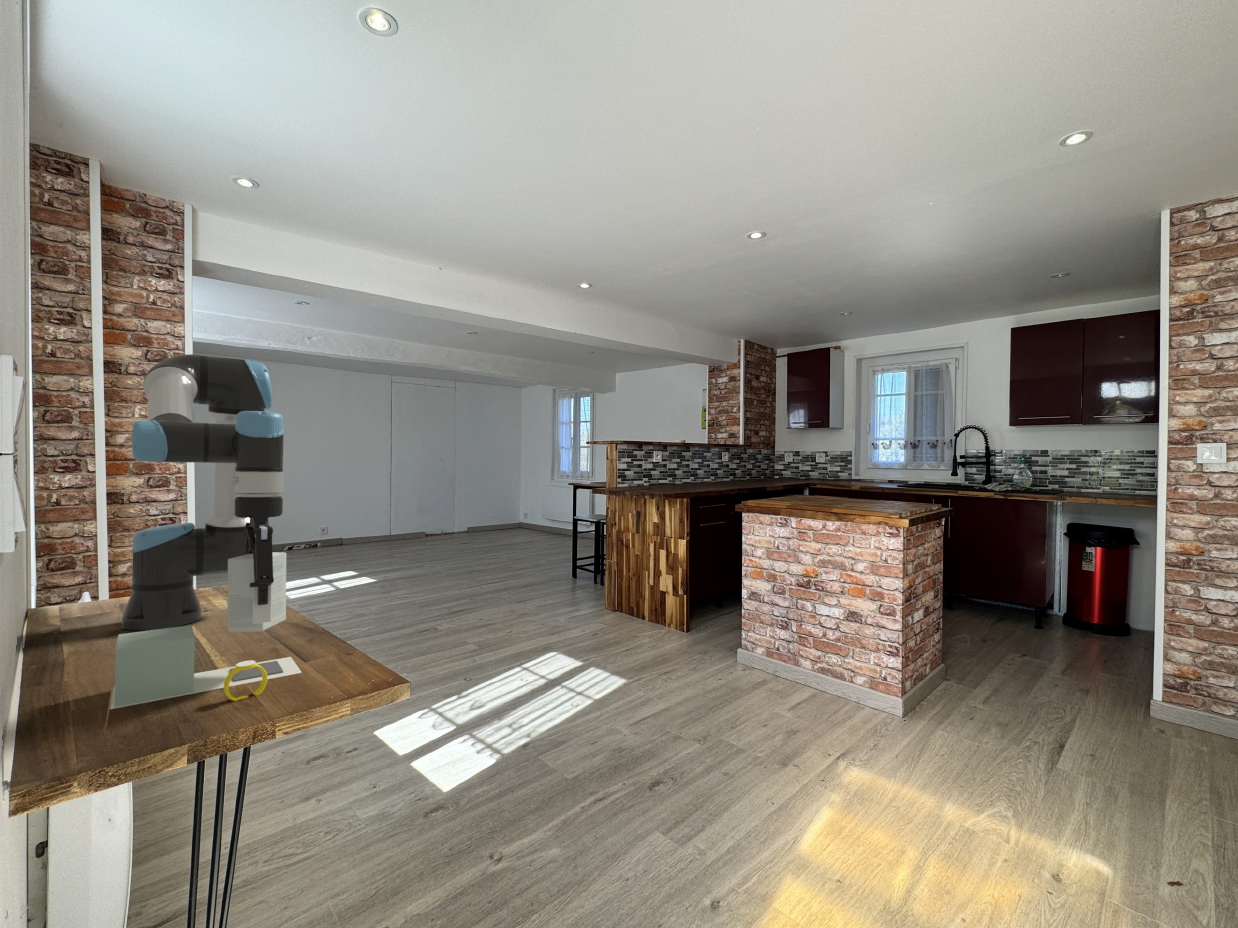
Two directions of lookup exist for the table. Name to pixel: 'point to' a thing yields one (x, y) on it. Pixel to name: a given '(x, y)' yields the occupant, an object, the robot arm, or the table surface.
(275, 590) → the small box
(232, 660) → the table surface
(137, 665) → the block
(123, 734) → the table surface
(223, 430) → the robot arm
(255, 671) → the base
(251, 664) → the watch
